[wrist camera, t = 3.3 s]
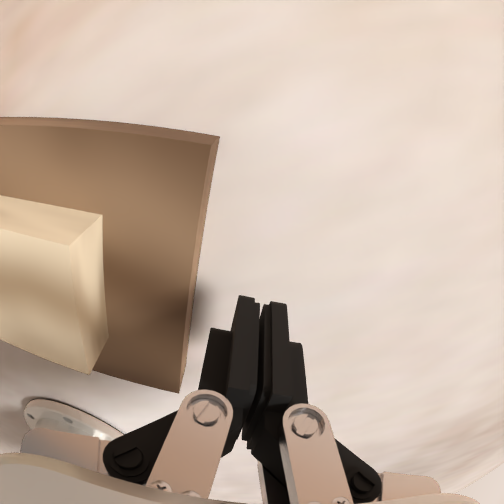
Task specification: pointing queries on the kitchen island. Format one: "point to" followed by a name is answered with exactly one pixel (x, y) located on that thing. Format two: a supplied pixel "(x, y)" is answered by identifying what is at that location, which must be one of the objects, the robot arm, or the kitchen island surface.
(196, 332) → the kitchen island surface
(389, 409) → the kitchen island surface
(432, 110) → the kitchen island surface
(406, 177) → the kitchen island surface
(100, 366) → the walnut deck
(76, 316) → the birch tile
